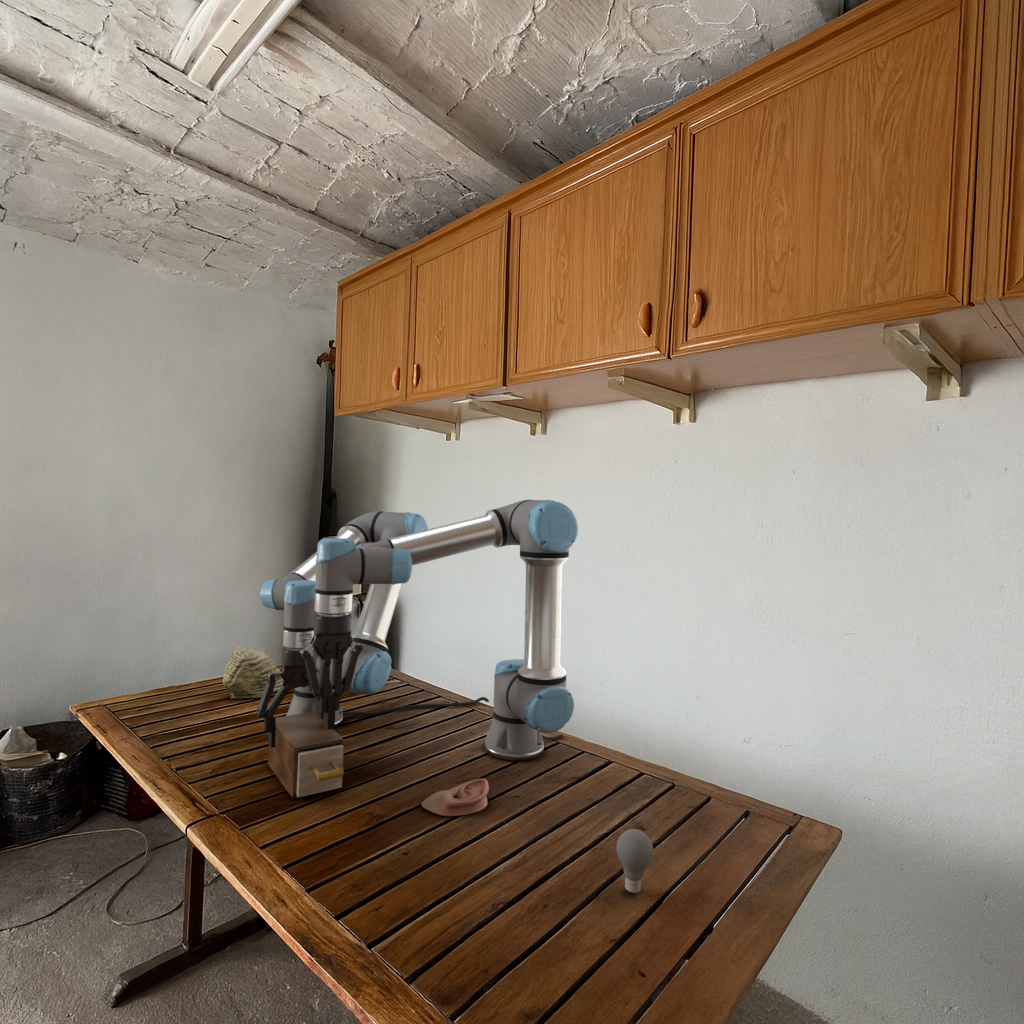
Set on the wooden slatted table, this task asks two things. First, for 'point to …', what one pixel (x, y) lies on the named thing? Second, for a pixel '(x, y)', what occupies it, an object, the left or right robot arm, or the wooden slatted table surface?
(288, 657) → the left robot arm
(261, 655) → the fossil
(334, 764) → the drawer
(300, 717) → the cabinet
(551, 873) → the wooden slatted table surface
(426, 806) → the anatomical model
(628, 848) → the light bulb
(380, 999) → the wooden slatted table surface
